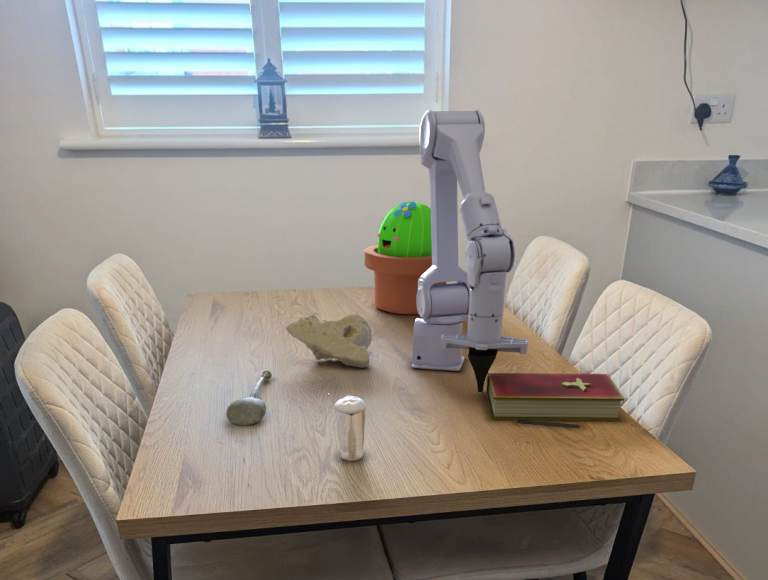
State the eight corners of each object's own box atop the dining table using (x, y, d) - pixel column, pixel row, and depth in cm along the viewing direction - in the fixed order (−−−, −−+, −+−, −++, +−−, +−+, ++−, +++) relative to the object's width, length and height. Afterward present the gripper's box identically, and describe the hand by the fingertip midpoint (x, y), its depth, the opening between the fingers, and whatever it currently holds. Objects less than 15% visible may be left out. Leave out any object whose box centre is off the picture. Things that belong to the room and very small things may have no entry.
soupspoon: (222, 429, 117) (262, 431, 117) (220, 410, 115) (261, 412, 115) (251, 377, 136) (285, 379, 136) (249, 360, 134) (284, 362, 134)
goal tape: (517, 422, 117) (517, 422, 117) (524, 384, 132) (524, 383, 132) (579, 428, 115) (579, 427, 115) (579, 388, 130) (579, 387, 130)
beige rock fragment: (387, 368, 146) (352, 310, 149) (389, 351, 139) (352, 290, 142) (320, 401, 144) (286, 341, 147) (319, 385, 136) (283, 322, 140)
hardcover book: (486, 393, 129) (487, 370, 126) (604, 394, 128) (607, 371, 125) (491, 419, 118) (493, 395, 116) (620, 421, 117) (624, 396, 115)
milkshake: (330, 450, 108) (327, 388, 103) (366, 449, 109) (364, 386, 104) (331, 464, 105) (328, 399, 99) (368, 462, 105) (366, 398, 100)
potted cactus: (413, 291, 194) (415, 190, 181) (472, 306, 179) (477, 198, 166) (349, 304, 182) (345, 198, 169) (405, 323, 167) (406, 208, 154)
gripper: (438, 316, 116) (436, 395, 123) (528, 322, 114) (521, 402, 120) (445, 305, 122) (442, 381, 129) (531, 310, 119) (523, 387, 126)
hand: (480, 390), depth 125 cm, fingers closed
